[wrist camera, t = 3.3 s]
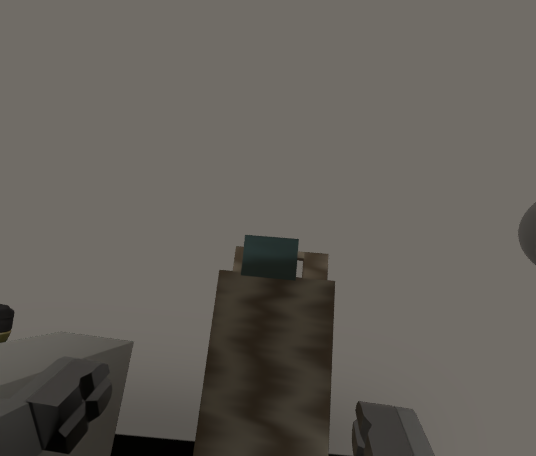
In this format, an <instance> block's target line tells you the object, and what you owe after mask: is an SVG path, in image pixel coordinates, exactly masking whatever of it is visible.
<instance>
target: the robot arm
mask: <svg viewBox="0 0 536 456" xmlns="http://www.w3.org/2000/svg"><path fill="white" fill-rule="evenodd" d="M518 233H519V234H518V235H519V242H520V245H521V247H522V250H523V251H524V253H525V254H526V256H527V257H528V258H529V259H530V260H531V261H532V262H533V263H534V264H535V265H536V203H534V204H533V205H532V206H531V207H530V208H529V209H528V211H527V212H526V213H525V215H524V216H523V218H522V220H521V223H520V225H519V231H518ZM109 373H110V371H109V366H108V364H105V363H100V362H95V361H89V360H84V359H79V358H72V357H66V356H64V357H62V358H59V359H57V360H56V361H55V362H54V363H52V364H51V365H50V366H49V367H47V368H46V369H45V370H44V371H42V372H41V373H40V374H39V375H38V376H36V377H35V378H34V379H33V380H31V381H30V382H29V383H28V384H26V385H25V386H24V387H23V388H22V389H20V390H19V391H18V392H17V393H15V394H14V395H13V396H12V397H10V398H9V399H5V398H4V399H2V400H0V456H38V455H39V454H40V453H42V450H45V451H51V452H57V453H64V454H70V453H71V452H72V450H73V449H74V448H75V447H76V445H77V444H78V443H79V442H80V440H81V439H82V438H83V436H84V435H85V434H86V433H87V431H88V428H89V422H91V421H93V420H94V419H96V418H97V417H99V416H100V415H101V414H102V412H103V411H104V410H105V408H106V407H107V405H108V403H109V401H110V398H111V395H112V383H111V382H110V380H109V379H108V378H107V376H108V374H109ZM356 416H357V420H355V421H354V422H353V429H352V446H353V454H354V456H435V455H434V453H433V451H432V449H431V446H430V444H429V442H428V440H427V437H426V435H425V433H424V431H423V428H422V426H421V424H420V422H419V419H418V417H417V415H416V413H415V412H414V411H413V410H412V409H408V408H402V407H395V406H394V407H392V406H390V405H382V404H375V403H367V402H361V401H358V403H357V405H356Z"/></svg>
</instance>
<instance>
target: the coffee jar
mask: <svg viewBox="0 0 536 456" xmlns="http://www.w3.org/2000/svg"><path fill="white" fill-rule="evenodd" d="M13 317H14V310H12V309H11V308H10V307H9V306H8V305H2V304H0V343H3V342H6V340H7V339H8V337H9V335H10V333H11V329H12V324H13Z"/></svg>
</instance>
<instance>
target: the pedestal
mask: <svg viewBox="0 0 536 456" xmlns="http://www.w3.org/2000/svg"><path fill="white" fill-rule="evenodd" d="M132 348H133V341H126V340H119V339H111V338H104V337H97V336H89V335H82V334H75V333H67V332H57V333H52V334H46V335H41V336H36V337H30V338H25V339H19V340H14V341H9V342H3V343H0V400H2V399H4V398H5V399H9V398H10V397H12V396H13V395H14V394H15V393H17V392H18V391H19V390H20V389H22V388H23V387H24V386H25V385H26V384H28V383H29V382H30V381H31V380H33V379H34V378H35V377H36V376H38V375H39V374H40V373H41V372H42V371H44V370H45V369H46V368H47V367H49V366H50V365H51V364H52V363H54V362H55V361H56V360H57V359H59V358H62V357H64V356H66V357H72V358H79V359H84V360H89V361H95V362H100V363H105V364H108V366H109V371H110V373H109V374H108V376H107V378H108V379H109V380H110V382H111V383H112V395H111V398H110V401H109V403H108V405H107V407H106V408H105V410H104V411H103V412H102V414H101V415H100V416H99V417H97V418H96V419H94V420H93V421H91V422H89V428H88V431H87V433H86V434H85V435H84V436H83V438H82V439H81V440H80V442H79V443H78V444H77V445H76V447H75V448H74V449H73V450H72V452H71V453H70V454H64V453H57V452H51V451H45V450H42V453H40V454H39V455H38V456H110V455H111V450H112V445H113V440H114V435H115V430H116V426H117V421H118V416H119V411H120V406H121V401H122V396H123V392H124V387H125V382H126V377H127V372H128V367H129V362H130V358H131V352H132Z"/></svg>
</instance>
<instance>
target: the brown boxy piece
mask: <svg viewBox="0 0 536 456" xmlns="http://www.w3.org/2000/svg"><path fill="white" fill-rule="evenodd" d="M243 250H244V247H239V246H237V247H236V252H235V258H234V266H233V271H226V270H220V271H219V277H218V284H217V291H216V298H215V305H214V312H213V319H212V327H211V333H210V340H209V347H208V355H207V362H206V368H205V376H204V383H203V390H202V397H201V404H200V411H199V418H198V426H197V433H196V440H195V446H194V453H193V456H328V450H329V425H330V398H331V397H330V396H331V373H332V346H333V319H334V295H335V281H329V280H327V275H328V273H327V272H328V254H322V253H310V252H298V255H297V260H299V261H303V272H302V278H298V277H296V281H293V280H283V279H273V278H263V277H253V276H243V275H241V268H242V259H243Z"/></svg>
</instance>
